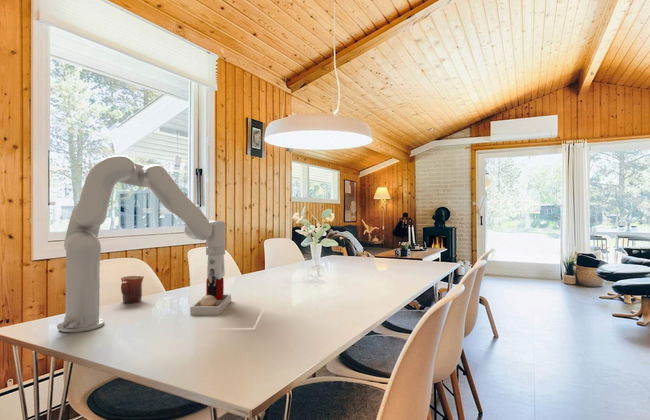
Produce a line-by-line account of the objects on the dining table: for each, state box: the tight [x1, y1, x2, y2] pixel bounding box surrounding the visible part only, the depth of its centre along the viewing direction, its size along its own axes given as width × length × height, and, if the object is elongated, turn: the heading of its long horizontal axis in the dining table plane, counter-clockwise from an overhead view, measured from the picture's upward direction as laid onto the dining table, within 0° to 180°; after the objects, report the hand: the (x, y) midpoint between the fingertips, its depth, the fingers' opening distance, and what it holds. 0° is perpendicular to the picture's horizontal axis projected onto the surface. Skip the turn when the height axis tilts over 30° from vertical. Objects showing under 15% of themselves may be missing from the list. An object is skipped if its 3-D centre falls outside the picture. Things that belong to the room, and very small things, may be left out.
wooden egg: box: [201, 295, 217, 306], centre depth 143 cm, size 6×6×6 cm
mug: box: [120, 275, 145, 304], centre depth 157 cm, size 12×9×10 cm
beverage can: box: [205, 277, 225, 300], centre depth 153 cm, size 7×7×12 cm
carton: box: [189, 294, 232, 316], centre depth 148 cm, size 20×11×4 cm, turn 2°
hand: (215, 293), depth 153 cm, fingers open, 8 cm apart
